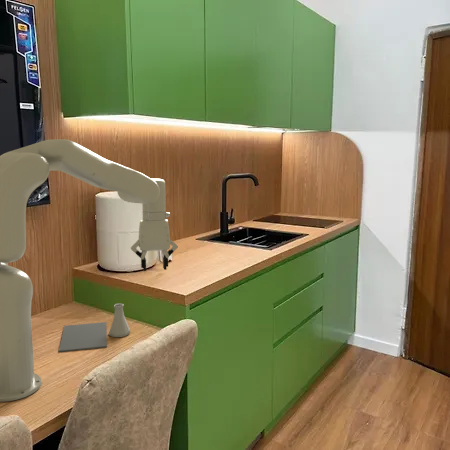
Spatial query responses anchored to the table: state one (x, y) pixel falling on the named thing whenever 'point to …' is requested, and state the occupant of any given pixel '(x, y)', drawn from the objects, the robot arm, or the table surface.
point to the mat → (83, 337)
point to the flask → (119, 323)
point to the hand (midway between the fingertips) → (154, 268)
